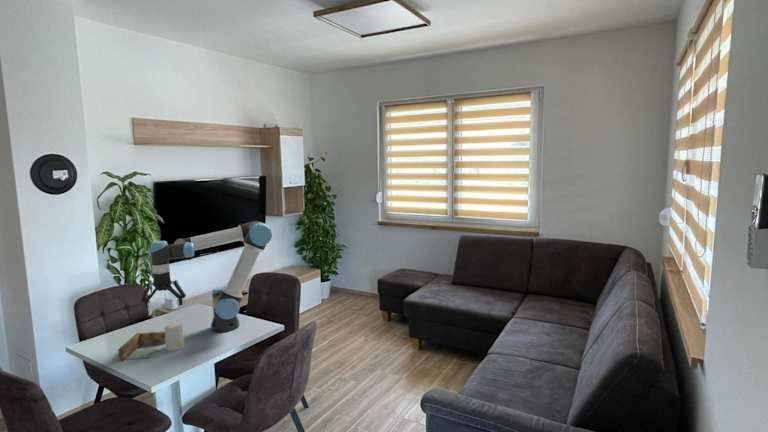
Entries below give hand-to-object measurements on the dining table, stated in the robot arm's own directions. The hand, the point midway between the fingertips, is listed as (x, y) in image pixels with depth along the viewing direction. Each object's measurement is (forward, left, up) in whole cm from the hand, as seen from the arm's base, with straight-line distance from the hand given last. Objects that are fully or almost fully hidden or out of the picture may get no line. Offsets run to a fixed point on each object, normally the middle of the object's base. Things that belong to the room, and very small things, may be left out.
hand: (165, 313), depth 213 cm
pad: (+9, +7, -18) cm, 21 cm away
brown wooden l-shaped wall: (+10, +5, -18) cm, 21 cm away
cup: (-4, +2, -18) cm, 18 cm away
